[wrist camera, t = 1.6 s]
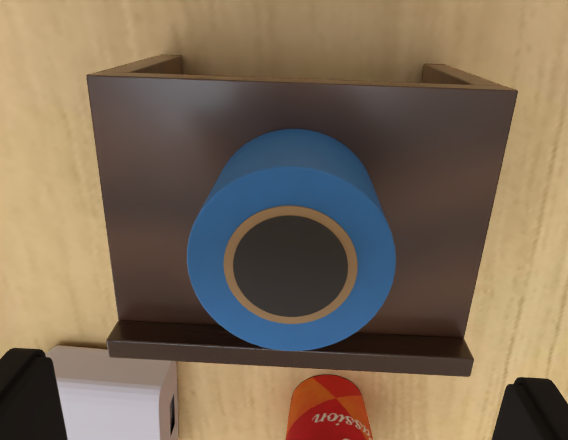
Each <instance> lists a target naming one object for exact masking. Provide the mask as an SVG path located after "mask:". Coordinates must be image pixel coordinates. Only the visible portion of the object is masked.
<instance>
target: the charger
mask: <svg viewBox="0 0 568 440" xmlns="http://www.w3.org/2000/svg"><path fill="white" fill-rule="evenodd" d="M45 355H46V357H49V358H51V359H52V361H53V365H54V370H55V376H56V381H57V386H58V391H59V396H60V402H61V407H62V412H63V417H64V422H65V427H66V433H67V438H68V440H178V432H179V421H178V389H177V362H176V361H165V360H147V359H128V358H110V357H109V355H108V349H96V348H84V347H72V346H60V345H56V346H55V347H53V348H52V349H51V350H50V351H49V352H48V353H46V354H45Z"/></svg>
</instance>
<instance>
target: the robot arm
mask: <svg viewBox="0 0 568 440" xmlns="http://www.w3.org/2000/svg"><path fill="white" fill-rule="evenodd" d="M0 440H68V438H67V433H66V427H65V422H64V417H63V412H62V407H61V402H60V396H59V391H58V386H57V381H56V376H55V370H54V365H53V361H52V359H51V358H49V357H46V355H45V353H44V352H43V350H40V349H24V348H13V349H10V350H9V351H8V352H6V353H5V355H4V356H3V357H2V358H1V359H0ZM492 440H568V404H567V402H566V401H565V399H564V398H563V396H562V395H561V393H560V392H559V390H558V389H557V387H556V386H555V384H554V383H553V382H552V381H551V380H549V379H542V378H525V377H519V378H517V379H516V380H515V382H514V384H508V385H507V387H506V389H505V393H504V396H503V400H502V404H501V407H500V411H499V415H498V418H497V422H496V426H495V429H494V433H493V437H492Z"/></svg>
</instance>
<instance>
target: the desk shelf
mask: <svg viewBox="0 0 568 440" xmlns="http://www.w3.org/2000/svg"><path fill="white" fill-rule="evenodd" d="M87 84H88V92H89V99H90V107H91V114H92V122H93V130H94V137H95V145H96V153H97V160H98V168H99V175H100V183H101V191H102V198H103V206H104V213H105V221H106V229H107V236H108V244H109V252H110V259H111V267H112V274H113V282H114V290H115V297H116V305H117V312H118V320H119V321H118V322H117V324H116V325H115V327H114V329H113V330H112V332H111V334H110V335H109V337H108V338H107V348H108V355H109V357H110V358H128V359H147V360H165V361H184V362H203V363H221V364H240V365H259V366H277V367H296V368H314V369H333V370H352V371H370V372H389V373H408V374H426V375H445V376H463V377H469V376H470V374H471V370H472V366H473V362H474V358H473V356H472V354H471V352H470V350H469V348H468V346H467V344H466V342H465V340H464V335H465V330H466V326H467V321H468V316H469V312H470V307H471V303H472V298H473V294H474V289H475V285H476V280H477V275H478V271H479V266H480V262H481V257H482V253H483V248H484V244H485V239H486V235H487V230H488V225H489V221H490V216H491V212H492V207H493V203H494V198H495V194H496V189H497V184H498V180H499V175H500V171H501V166H502V162H503V157H504V153H505V148H506V144H507V139H508V134H509V130H510V125H511V121H512V116H513V112H514V107H515V103H516V98H517V93H518V91H517V90H515V89H512V88H509V87H506V86H503V85H500V84H497V83H494V82H492V81H489V80H486V79H483V78H480V77H478V76H475V75H472V74H469V73H467V72H464V71H461V70H458V69H456V68H453V67H450V66H447V65H444V64H424V68H423V75H422V82H421V83H404V82H376V81H349V80H321V79H293V78H265V77H237V76H209V75H183V67H182V56H181V55H158V56H155V57H151V58H147V59H144V60H140V61H136V62H133V63H129V64H125V65H122V66H118V67H114V68H111V69H107V70H103V71H100V72H96V73H92V74H89V75H87ZM284 129H304V130H311V131H315V132H319V133H322V134H325V135H327V136H330V137H332V138H334V139H335V140H337V141H339V142H341V143H342V144H343V145H345V146H346V147H348V148H349V149H350V150H351V151H352V152H353V153H354V154H355V155H356V156H357V157H358V158H359V160H360V161H361V162H362V164H363V165H364V167H365V169H366V170H367V172H368V174H369V176H370V179H371V181H372V184H373V186H374V189H375V192H376V194H377V197H378V199H379V202H380V204H381V207H382V210H383V212H384V215H385V217H386V220H387V223H388V225H389V228H390V230H391V233H392V236H393V240H394V244H395V252H396V268H395V275H394V279H393V284H392V286H391V289H390V292H389V294H388V296H387V298H386V300H385V302H384V303H383V305H382V307H381V308H380V309H379V311H378V312H377V313H376V315H375V316H374V317H373V318H372V319H371V320H370V321H369V322H368V323H367V324H366V325H365V326H363V327H362V328H361V329H360V330H358V331H357V332H356V333H354V334H352V335H351V336H349V337H347V338H345V339H343V340H341V341H339V342H337V343H334V344H331V345H328V346H325V347H322V348H317V349H312V350H304V351H283V350H274V349H269V348H265V347H261V346H258V345H255V344H252V343H249V342H247V341H245V340H243V339H240V338H238V337H237V336H235V335H233V334H232V333H230V332H229V331H227V330H226V329H225V328H223V327H222V326H221V325H219V324H218V323H217V322H216V321H215V320H214V319H213V318H212V317H211V316H210V315H209V313H208V312H207V311H206V310H205V308H204V307H203V306H202V304H201V303H200V301H199V299H198V298H197V296H196V294H195V291H194V289H193V287H192V284H191V281H190V277H189V274H188V267H187V246H188V240H189V235H190V232H191V229H192V226H193V224H194V222H195V220H196V218H197V216H198V214H199V212H200V210H201V208H202V206H203V205H204V203H205V201H206V199H207V197H208V195H209V194H210V192H211V190H212V188H213V186H214V184H215V183H216V181H217V179H218V177H219V175H220V174H221V172H222V170H223V168H224V166H225V165H226V163H227V162H228V161H229V159H230V158H231V157H232V156H233V155H234V154H235V153H236V151H237V150H239V149H240V148H241V147H242V146H244V145H245V144H246V143H248V142H249V141H251V140H253V139H254V138H257V137H259V136H261V135H263V134H266V133H269V132H273V131H277V130H284Z"/></svg>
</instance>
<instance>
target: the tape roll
mask: <svg viewBox="0 0 568 440" xmlns="http://www.w3.org/2000/svg"><path fill="white" fill-rule="evenodd" d="M187 267H188V274H189V277H190V281H191V284H192V287H193V289H194V291H195V294H196V296H197V298H198V299H199V301H200V303H201V304H202V306H203V307H204V308H205V310H206V311H207V312H208V313H209V315H210V316H211V317H212V318H213V319H214V320H215V321H216V322H217V323H218V324H219V325H221V326H222V327H223V328H225V329H226V330H227V331H229V332H230V333H232V334H233V335H235V336H237V337H238V338H240V339H243V340H245V341H247V342H249V343H252V344H255V345H258V346H261V347H265V348H269V349H274V350H283V351H304V350H312V349H317V348H322V347H325V346H328V345H331V344H334V343H337V342H339V341H341V340H343V339H345V338H347V337H349V336H351V335H352V334H354V333H356V332H357V331H358V330H360V329H361V328H362V327H363V326H365V325H366V324H367V323H368V322H369V321H370V320H371V319H372V318H373V317H374V316H375V315H376V313H377V312H378V311H379V309H380V308H381V307H382V305H383V303H384V302H385V300H386V298H387V296H388V294H389V292H390V289H391V286H392V284H393V279H394V275H395V268H396V252H395V244H394V240H393V236H392V233H391V230H390V228H389V225H388V223H387V220H386V217H385V215H384V212H383V210H382V207H381V204H380V202H379V199H378V197H377V194H376V192H375V189H374V186H373V184H372V181H371V179H370V176H369V174H368V172H367V170H366V169H365V167H364V165H363V164H362V162H361V161H360V160H359V158H358V157H357V156H356V155H355V154H354V153H353V152H352V151H351V150H350V149H349V148H348V147H346V146H345V145H343V144H342V143H341V142H339V141H337V140H335V139H334V138H332V137H330V136H327V135H325V134H322V133H319V132H315V131H311V130H304V129H284V130H277V131H273V132H269V133H266V134H263V135H261V136H259V137H257V138H254V139H253V140H251V141H249V142H248V143H246V144H245V145H244V146H242V147H241V148H240V149H239V150H237V151H236V153H235V154H234V155H233V156H232V157H231V158H230V159H229V161H228V162H227V163H226V165H225V166H224V168H223V170H222V172H221V174H220V175H219V177H218V179H217V181H216V183H215V184H214V186H213V188H212V190H211V192H210V194H209V195H208V197H207V199H206V201H205V203H204V205H203V206H202V208H201V210H200V212H199V214H198V216H197V218H196V220H195V222H194V224H193V226H192V229H191V232H190V235H189V240H188V246H187Z"/></svg>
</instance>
